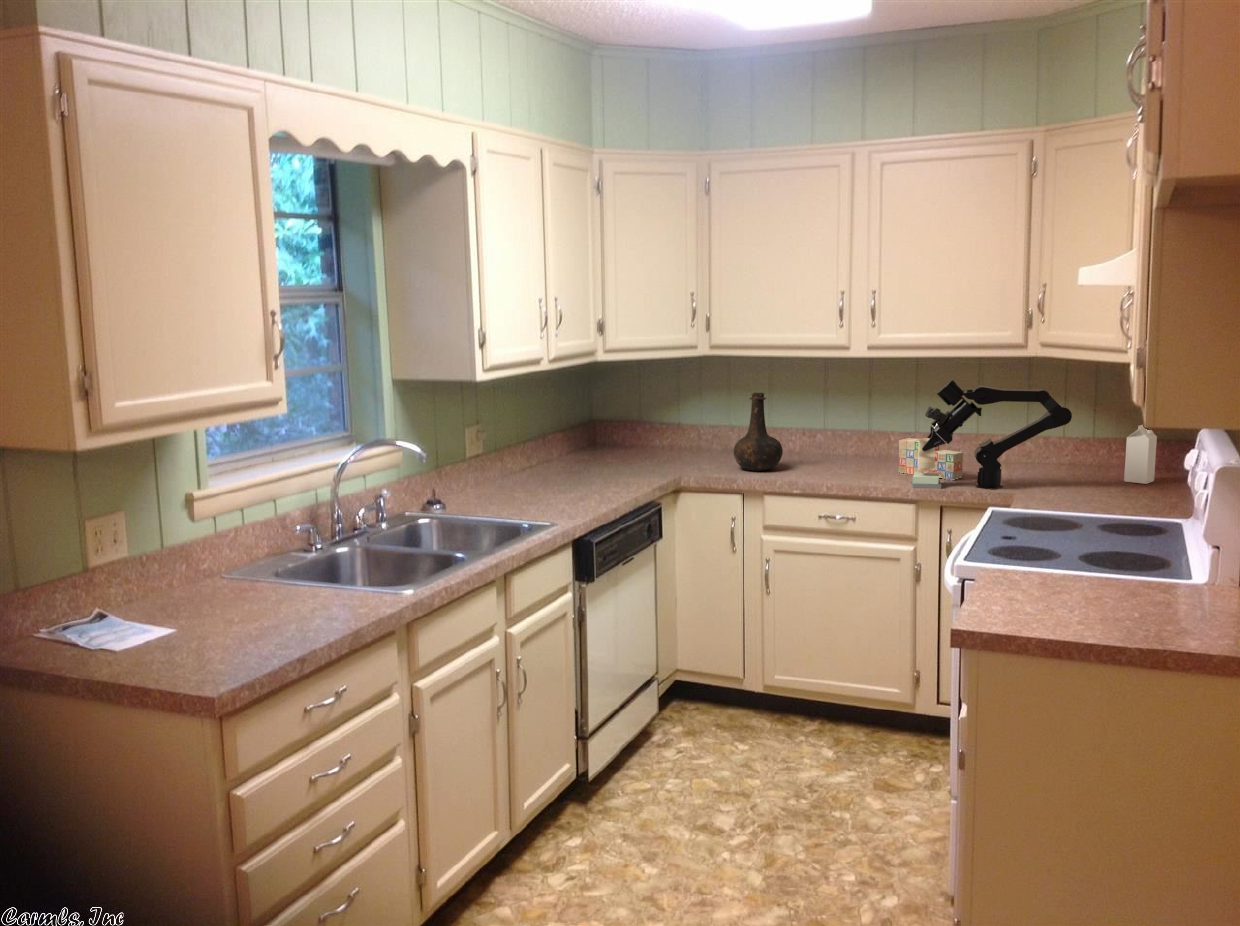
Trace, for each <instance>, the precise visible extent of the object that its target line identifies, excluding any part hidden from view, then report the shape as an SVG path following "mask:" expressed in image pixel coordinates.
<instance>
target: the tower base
mask: <svg viewBox="0 0 1240 926" xmlns="http://www.w3.org/2000/svg"><path fill="white" fill-rule="evenodd" d="M910 479H911V480H910V483H911V482H912V484H911V487H912V489H929V490H930V489H933V490H935V489H936V490H938V489H939V490H941V489H942V483H941V479H939V482H938V484H918V483H913V478H910Z"/></svg>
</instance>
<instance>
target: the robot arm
mask: <svg viewBox="0 0 1240 926" xmlns="http://www.w3.org/2000/svg"><path fill="white" fill-rule="evenodd" d="M935 394H936V395H937V396H938V397H939V398H940V399H941V400H942V401H943V403H945V404H946V405H947V406H950V405H951V406H952V407H953V408H952V409H951V410H949V411H946V412H943V411H941V409H940V408H938V407H932V406H928V408H927V410H926V412H925V414H924V416H925V417H926V418H928V419H932V420H933V421H932V422H931V423H930V424H931V425H930V426H929V427H930V432H929V434H928V435H927V437H926V438H930V439H929V440H928V441H927V443H926V444H925V445H924V447H923V448H922V450H923V451H926V450H929V449H932V448H935V447H937V446H939V447H940V446H943V445H945V444H947V445H949V444H950V443H951V442H952V441H953V435H954V433H955V432H956V431H957V430H958V429H959V428H962V427H963V426H964V424H965V422H967V421H968V420H969V419H970V418H971V417H972V416H973V415H974V414H976V415H978V416H979V417H982V410H983V408H982V406H984V405H989V404H991V405H992V404H995V403H1001V402H1010V403H1011V402H1013V403H1014V402H1016V403H1017V402H1021V403H1028V402H1029V403H1040V405H1042V406H1043V407H1044V408H1045V410H1046V412H1045V413H1043V415H1042V416H1040V417H1039V418H1038V419H1036V420H1035V421H1033V422H1030V423H1029V424H1027V425H1026V426H1023V427H1021V428H1020V429H1018V430H1016V431H1014V432H1012V433H1010V434H1008V435H1007V436H1005V437H1003V438H1001V439H999V440H994V441H993V440H992V439H991V438H988V439H987V440H985V441H984V442H981V443H978V446H976V448H975V449H974V452H973V453H974V458H975V460H976V462H977V463H978V464H980V465H981V467H978V472H977V476H976V477H977V481H976V483H977V484H976V485H975V487H976V486H978V487H977V488H981V487H985V488H984V489H988V488H992V489H991V490H995V489H994V488H997V489H999V488H998V487H1000V488H1003V487H1004V485H1003V484H1002V468H1001V467H1002V464H1001V462H1000V461H999V458H1000V457H1001V456H1002V455H1003V454H1005V453H1006V452H1007V451H1009V450H1011V449H1012V448H1014V447H1016V446H1018V445H1021V444H1023V443H1025V442H1026V441H1028V440H1030V439H1032V438H1034V437H1036V436H1038V435H1040V434H1042V433H1044V432H1045V431H1049V430H1054V429H1056V428H1060V427H1063V426H1066V425H1067V424H1069V423H1070V422H1071V421H1072V418H1073V413H1072V411H1071V410H1070V409H1069V408H1067V407H1066V406H1065V405H1062V404H1059V403H1058V402H1057V401H1056V400H1055V399H1054V398H1053V397H1052V396H1051V395H1050V393H1049V392H1048V391H1047V390H1045V389H1043V388H1041V389H1040V388H1039V389H1007V388H1006V389H1005V388H1004V389H1002V388H998V387H993V386H987V385H982V384H981V385H979V384H978V385H976V386H975V387H974V388H972V389H965V390H963V389H962V388H961V387H960V386H959V385H957V383H956V382H955V380H953V379H951V380H950V381H949V382H947V383H946V384H944V385H942V386H941V387H940V389H938V390H937V392H936V393H935ZM964 397H965V398H966V399H967V400H971V401H969V402H968V401H967V400H966V399H965V398H964ZM973 401H974V402H975V403H974V402H973ZM976 404H977V405H979V406H977V405H976ZM980 405H981V406H980ZM1002 486H1003V487H1002Z"/></svg>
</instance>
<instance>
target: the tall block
mask: <svg viewBox="0 0 1240 926" xmlns="http://www.w3.org/2000/svg"><path fill="white" fill-rule="evenodd" d="M918 439H919V448H918V470H919V471H935V448H932V449H929V450H926V451H923V450H922V448H923V447H924V445H925V444H926V443H927V441H928V440H929V439H930V438H927V437H926V438H925V437H924V438H923V437H922V438H921V437H919V438H918Z"/></svg>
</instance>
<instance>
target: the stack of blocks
mask: <svg viewBox="0 0 1240 926" xmlns="http://www.w3.org/2000/svg"><path fill="white" fill-rule="evenodd" d="M898 444H899V445H898V446H899V447H898V473H899V472H900V473H908V474H914V472H916V473H939V478H948V479H956V478H960V477H962V478H963V465H964V464H963V461H964V452H963V451H955V450H948V449H947V450H946V449H940V446H937V447H935V471H919V470H918V448H919V438H912V437H911V438H910V437H907V438H903V439H899V441H898Z"/></svg>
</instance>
